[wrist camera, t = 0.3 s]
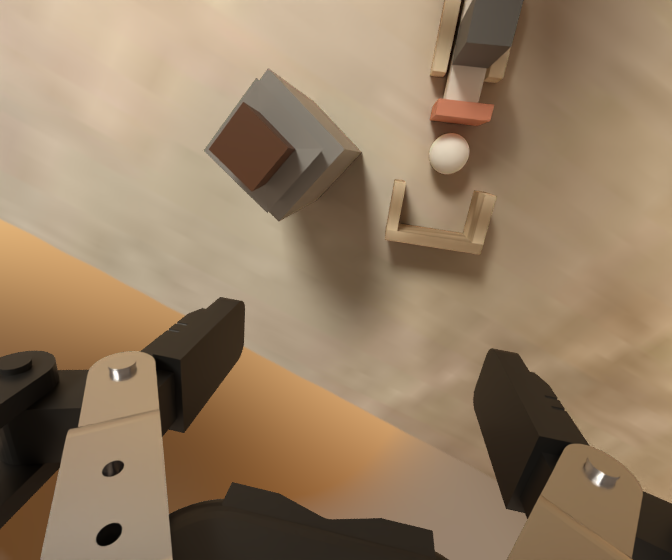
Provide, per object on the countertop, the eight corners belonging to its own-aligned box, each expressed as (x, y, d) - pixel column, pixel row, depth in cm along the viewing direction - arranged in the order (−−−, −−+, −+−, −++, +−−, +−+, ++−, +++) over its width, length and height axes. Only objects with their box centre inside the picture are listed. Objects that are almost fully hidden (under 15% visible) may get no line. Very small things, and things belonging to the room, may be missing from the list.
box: (394, 179, 35) (395, 182, 31) (484, 191, 34) (496, 196, 30) (385, 230, 37) (384, 239, 33) (470, 243, 36) (480, 254, 32)
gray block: (456, -11, 29) (479, -72, 21) (509, -7, 29) (552, -67, 21) (429, 120, 33) (441, 108, 25) (476, 125, 32) (503, 115, 25)
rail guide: (448, -18, 29) (451, -30, 27) (520, -12, 29) (529, -24, 27) (429, 75, 32) (432, 70, 30) (496, 82, 31) (503, 78, 29)
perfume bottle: (361, 152, 35) (333, 146, 18) (317, 199, 37) (255, 234, 20) (314, 101, 34) (238, 46, 17) (271, 153, 36) (167, 150, 19)
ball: (431, 132, 33) (436, 129, 30) (469, 136, 33) (478, 134, 29) (423, 170, 34) (427, 172, 31) (459, 175, 34) (467, 177, 31)
